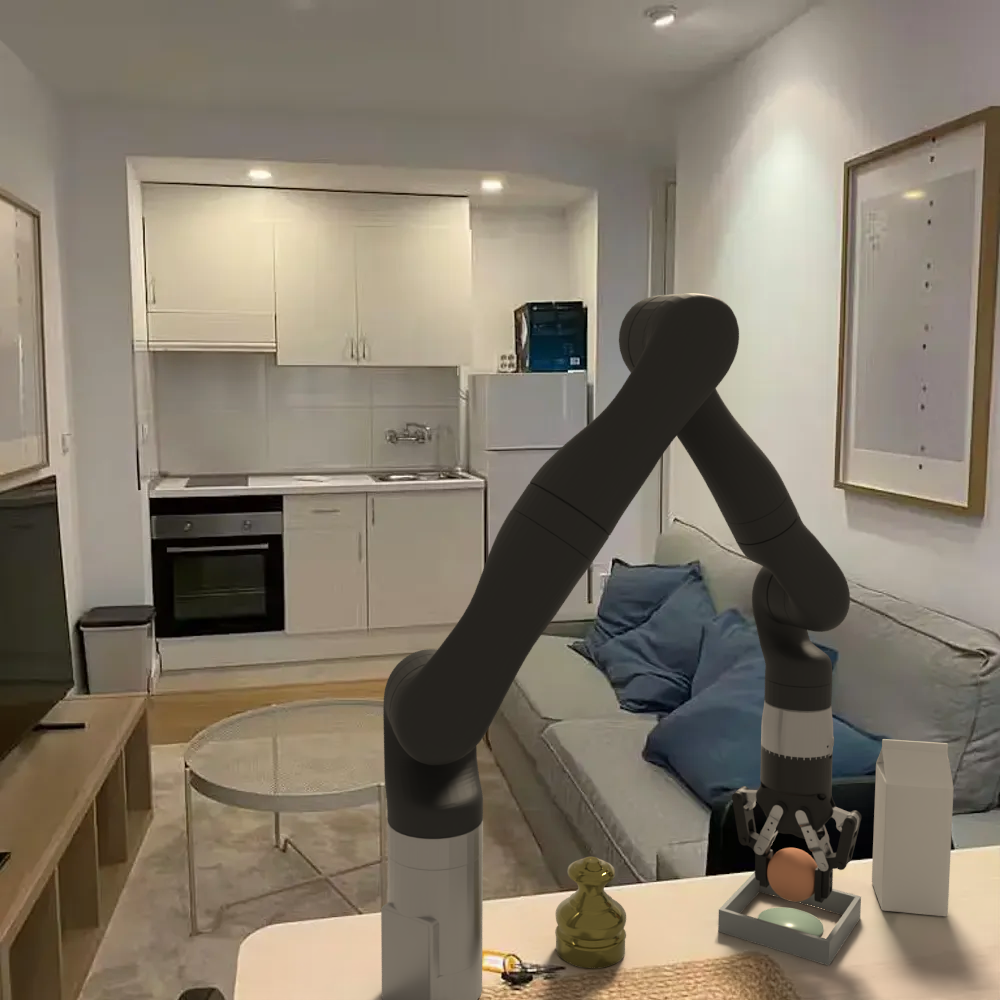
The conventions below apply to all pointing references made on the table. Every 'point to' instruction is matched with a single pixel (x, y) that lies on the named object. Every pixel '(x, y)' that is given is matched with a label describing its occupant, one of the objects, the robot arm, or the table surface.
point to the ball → (792, 874)
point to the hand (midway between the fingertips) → (793, 891)
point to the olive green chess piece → (590, 918)
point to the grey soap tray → (790, 923)
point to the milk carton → (912, 827)
